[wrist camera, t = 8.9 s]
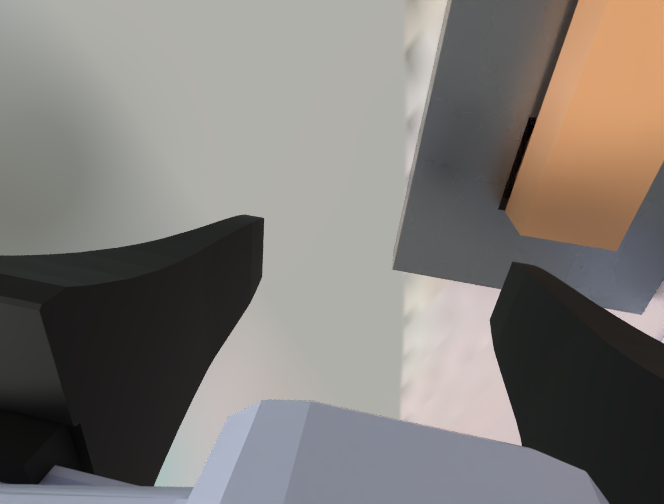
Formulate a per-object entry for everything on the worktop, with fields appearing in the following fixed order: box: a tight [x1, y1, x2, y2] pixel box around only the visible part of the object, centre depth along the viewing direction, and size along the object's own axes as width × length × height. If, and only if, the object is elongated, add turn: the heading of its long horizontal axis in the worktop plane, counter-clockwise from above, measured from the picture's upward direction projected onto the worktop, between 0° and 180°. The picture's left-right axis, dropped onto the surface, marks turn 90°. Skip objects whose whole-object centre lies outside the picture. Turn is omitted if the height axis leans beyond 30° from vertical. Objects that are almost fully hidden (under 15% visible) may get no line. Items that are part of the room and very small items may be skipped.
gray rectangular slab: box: [393, 0, 664, 315], centre depth 15 cm, size 20×12×2 cm, turn 173°
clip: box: [505, 0, 664, 251], centre depth 14 cm, size 12×4×5 cm, turn 173°
